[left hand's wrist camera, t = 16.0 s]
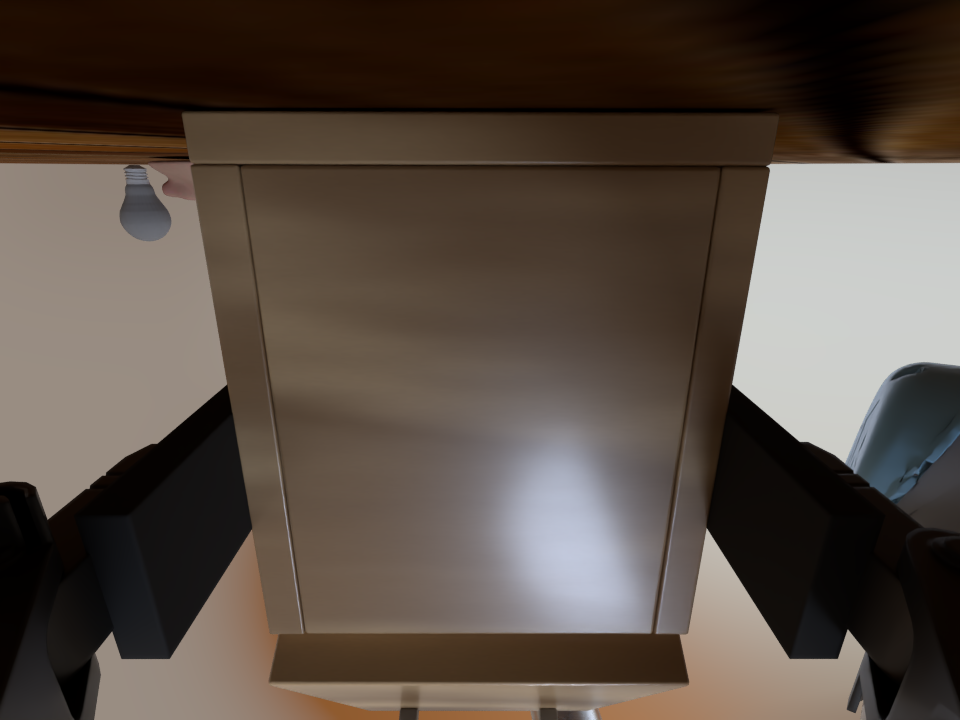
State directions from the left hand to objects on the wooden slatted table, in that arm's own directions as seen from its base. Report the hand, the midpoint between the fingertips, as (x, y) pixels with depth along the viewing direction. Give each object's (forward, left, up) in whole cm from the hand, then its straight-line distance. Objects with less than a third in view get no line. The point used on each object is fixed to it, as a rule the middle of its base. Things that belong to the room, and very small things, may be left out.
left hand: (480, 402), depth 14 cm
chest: (-2, +2, -7) cm, 7 cm away
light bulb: (-19, +74, -7) cm, 77 cm away
